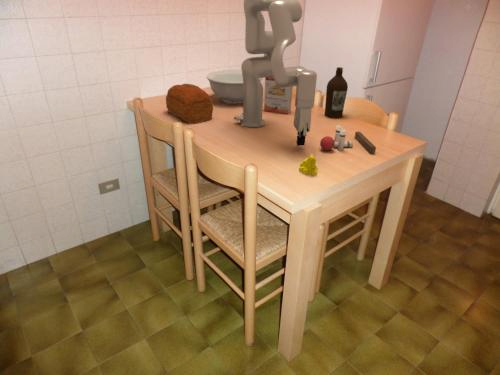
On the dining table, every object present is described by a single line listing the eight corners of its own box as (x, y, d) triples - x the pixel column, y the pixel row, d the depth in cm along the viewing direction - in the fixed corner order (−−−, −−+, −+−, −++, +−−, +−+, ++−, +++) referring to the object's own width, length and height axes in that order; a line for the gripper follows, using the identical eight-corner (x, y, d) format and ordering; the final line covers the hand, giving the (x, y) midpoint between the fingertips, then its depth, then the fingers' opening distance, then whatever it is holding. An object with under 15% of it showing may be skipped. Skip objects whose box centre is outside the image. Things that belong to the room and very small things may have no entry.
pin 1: (334, 146, 156) (337, 127, 152) (333, 143, 158) (335, 125, 154) (340, 145, 156) (343, 127, 152) (338, 143, 158) (341, 125, 154)
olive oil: (320, 113, 196) (325, 66, 184) (338, 112, 198) (344, 65, 186) (328, 119, 187) (334, 70, 175) (346, 118, 189) (354, 69, 177)
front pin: (334, 143, 152) (353, 142, 153) (332, 140, 154) (351, 140, 155) (333, 148, 154) (352, 148, 155) (331, 145, 156) (350, 145, 157)
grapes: (307, 165, 139) (309, 147, 135) (321, 174, 133) (323, 155, 129) (295, 169, 136) (297, 150, 132) (308, 177, 130) (310, 158, 126)
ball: (336, 152, 150) (321, 154, 152) (335, 142, 154) (321, 144, 156) (333, 142, 146) (318, 144, 148) (333, 132, 149) (318, 134, 151)
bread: (188, 125, 175) (186, 93, 168) (164, 111, 194) (161, 82, 186) (216, 119, 184) (215, 88, 176) (190, 106, 202) (188, 78, 194)
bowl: (227, 111, 195) (226, 84, 188) (197, 97, 218) (196, 73, 210) (272, 102, 212) (273, 77, 205) (240, 90, 234) (241, 67, 227)
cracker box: (263, 111, 197) (265, 72, 187) (267, 108, 202) (268, 70, 192) (287, 114, 193) (290, 75, 182) (291, 111, 197) (294, 72, 187)
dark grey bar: (370, 153, 149) (371, 147, 148) (354, 137, 165) (355, 131, 163) (374, 153, 149) (376, 147, 148) (358, 137, 165) (359, 131, 164)
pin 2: (338, 150, 152) (341, 131, 147) (336, 148, 154) (339, 129, 150) (344, 150, 152) (347, 131, 148) (342, 148, 154) (345, 129, 150)
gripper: (291, 97, 150) (288, 138, 159) (299, 108, 137) (295, 152, 146) (309, 97, 150) (304, 138, 159) (318, 108, 137) (313, 151, 147)
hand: (300, 144), depth 153 cm, fingers closed
